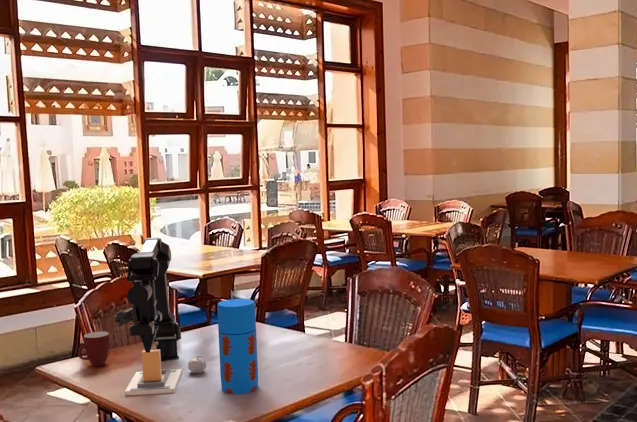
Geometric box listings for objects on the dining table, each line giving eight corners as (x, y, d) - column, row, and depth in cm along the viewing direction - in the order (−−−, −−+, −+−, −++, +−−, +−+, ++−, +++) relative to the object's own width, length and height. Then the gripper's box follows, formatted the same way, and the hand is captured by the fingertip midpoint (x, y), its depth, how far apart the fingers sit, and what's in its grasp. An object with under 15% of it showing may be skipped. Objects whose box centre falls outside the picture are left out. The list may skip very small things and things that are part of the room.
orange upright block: (145, 381, 204) (143, 349, 203) (162, 380, 204) (160, 348, 204) (143, 385, 201) (141, 352, 200) (160, 384, 201) (158, 351, 200)
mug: (87, 371, 220) (85, 340, 220) (73, 367, 226) (71, 337, 225) (116, 363, 228) (114, 333, 228) (102, 359, 234) (100, 330, 233)
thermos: (242, 396, 192) (238, 308, 190) (213, 390, 198) (209, 305, 196) (265, 384, 201) (262, 300, 199) (237, 379, 207) (233, 297, 205)
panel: (136, 375, 214) (136, 368, 214) (182, 372, 215) (181, 365, 215) (124, 395, 196) (124, 387, 196) (174, 392, 198) (174, 384, 197)
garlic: (210, 370, 217) (209, 354, 217) (200, 375, 212) (199, 359, 212) (194, 368, 219) (194, 352, 219) (184, 373, 215) (183, 357, 214)
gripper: (123, 293, 205) (126, 344, 206) (108, 307, 187) (112, 363, 188) (160, 291, 206) (163, 342, 207) (150, 305, 187) (153, 361, 189)
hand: (148, 352), depth 198 cm, fingers closed
